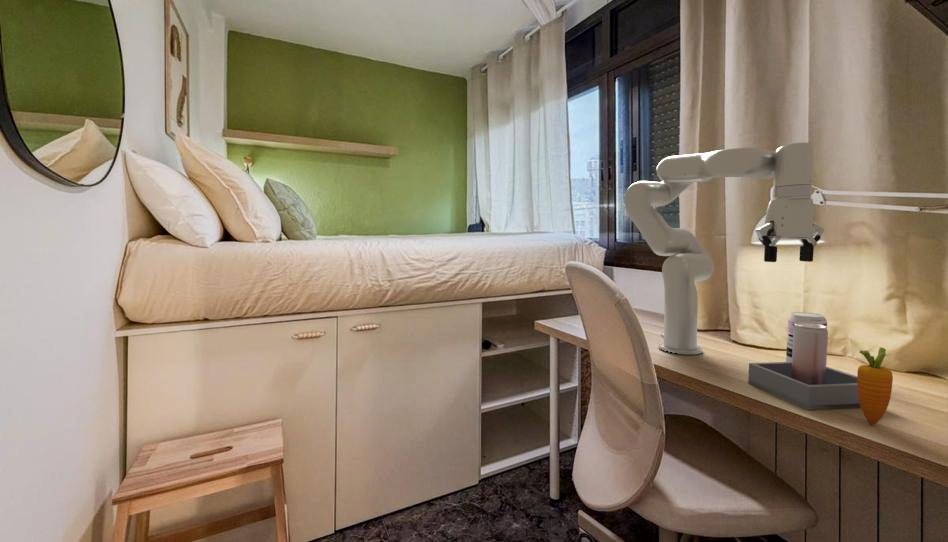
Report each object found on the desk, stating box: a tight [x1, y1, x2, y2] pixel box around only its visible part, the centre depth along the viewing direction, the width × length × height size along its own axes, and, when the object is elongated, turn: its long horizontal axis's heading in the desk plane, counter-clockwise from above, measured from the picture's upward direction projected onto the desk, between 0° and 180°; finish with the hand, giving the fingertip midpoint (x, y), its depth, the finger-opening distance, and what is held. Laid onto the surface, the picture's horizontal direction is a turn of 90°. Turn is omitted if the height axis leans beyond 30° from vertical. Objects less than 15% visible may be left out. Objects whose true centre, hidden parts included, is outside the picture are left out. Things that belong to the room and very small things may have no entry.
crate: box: [747, 361, 861, 411], centre depth 88 cm, size 16×16×5 cm
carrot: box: [856, 346, 894, 426], centre depth 73 cm, size 5×5×15 cm
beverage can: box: [791, 323, 829, 385], centre depth 88 cm, size 6×6×15 cm
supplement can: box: [785, 311, 828, 362], centre depth 106 cm, size 8×8×15 cm
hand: (788, 261), depth 98 cm, fingers open, 9 cm apart
